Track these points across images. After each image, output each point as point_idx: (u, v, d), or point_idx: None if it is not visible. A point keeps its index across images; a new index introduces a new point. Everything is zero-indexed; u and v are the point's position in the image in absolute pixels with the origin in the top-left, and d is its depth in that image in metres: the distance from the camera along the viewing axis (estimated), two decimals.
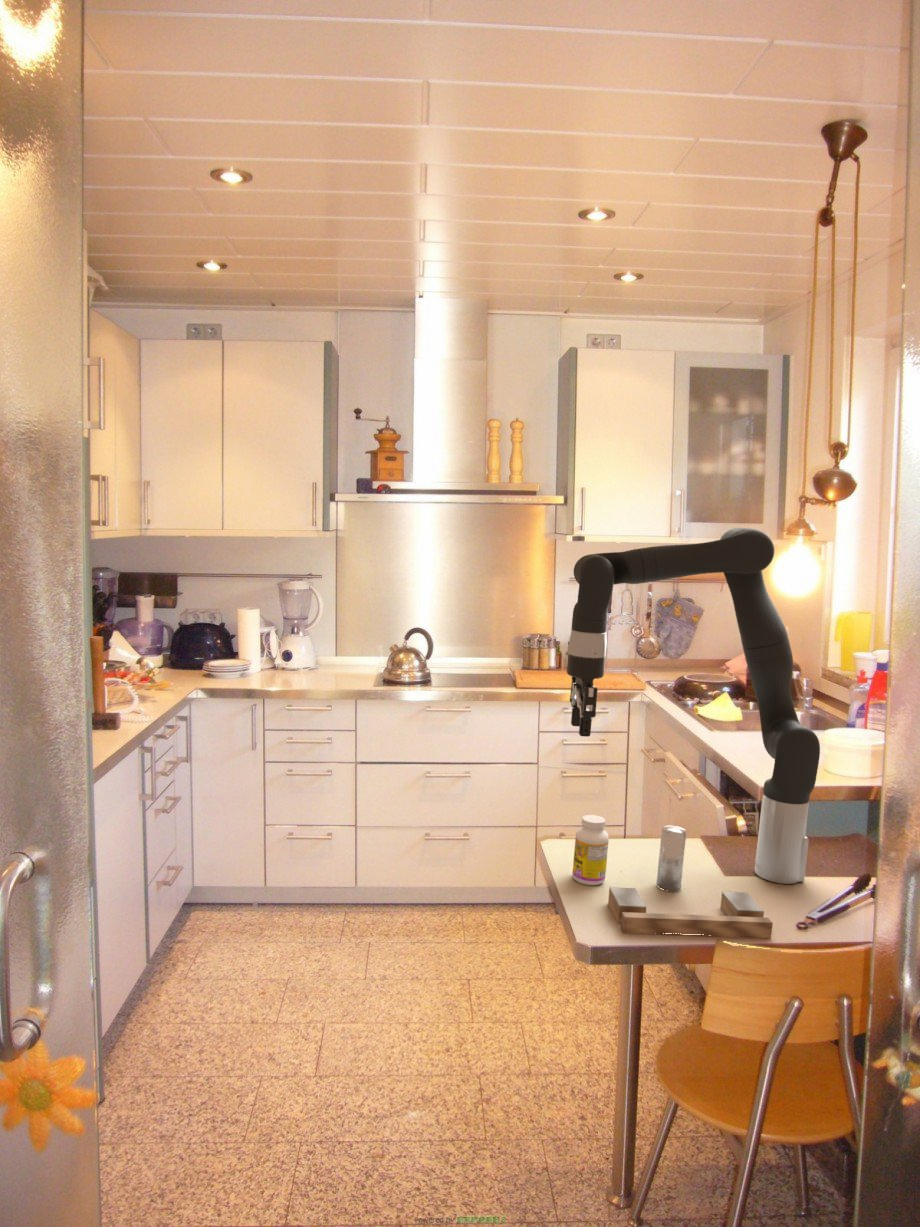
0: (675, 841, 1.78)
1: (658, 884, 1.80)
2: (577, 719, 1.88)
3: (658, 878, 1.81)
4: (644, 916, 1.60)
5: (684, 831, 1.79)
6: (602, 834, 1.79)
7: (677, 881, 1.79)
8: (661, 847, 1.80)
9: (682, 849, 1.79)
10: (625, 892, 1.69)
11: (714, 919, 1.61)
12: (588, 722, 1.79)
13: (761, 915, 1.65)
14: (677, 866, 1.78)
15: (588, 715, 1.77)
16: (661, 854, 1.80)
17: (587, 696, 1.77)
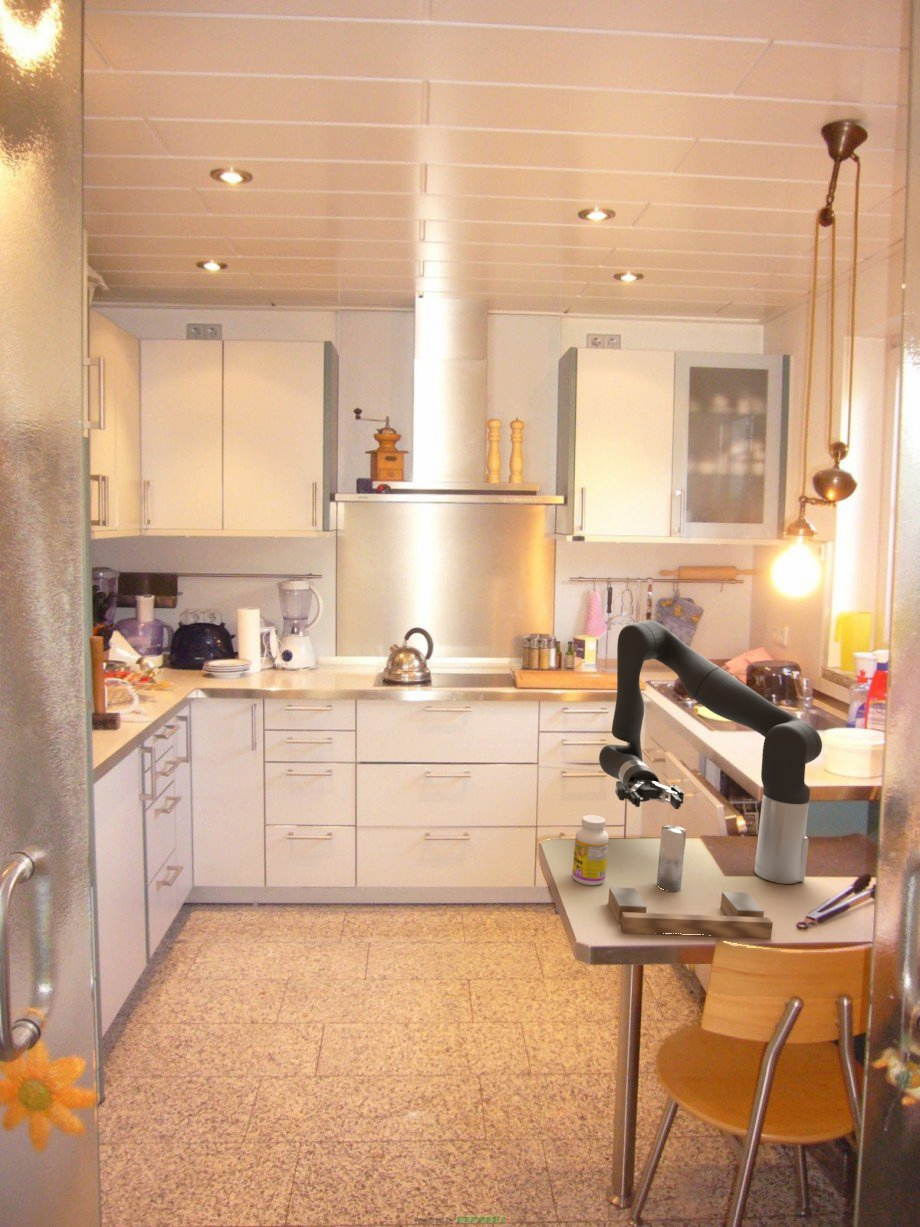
0: (675, 841, 1.78)
1: (658, 884, 1.80)
2: (674, 802, 1.93)
3: (658, 878, 1.81)
4: (644, 916, 1.60)
5: (684, 831, 1.79)
6: (602, 834, 1.79)
7: (677, 881, 1.79)
8: (661, 847, 1.80)
9: (682, 849, 1.79)
10: (625, 892, 1.69)
11: (714, 919, 1.61)
12: (630, 796, 1.93)
13: (761, 915, 1.65)
14: (677, 866, 1.78)
15: (620, 795, 1.95)
16: (661, 854, 1.80)
17: (616, 791, 1.99)
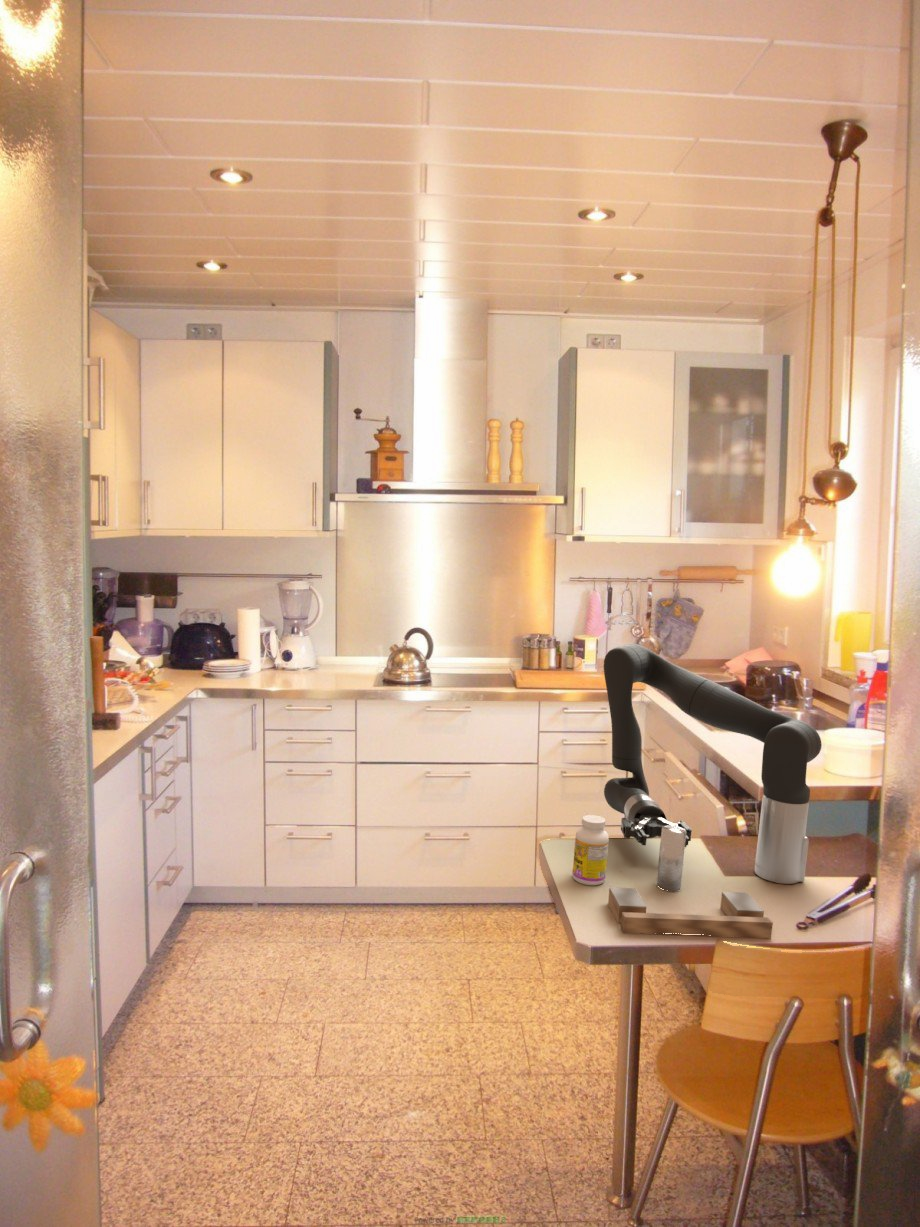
0: (675, 841, 1.78)
1: (658, 884, 1.80)
2: None
3: (658, 878, 1.81)
4: (644, 916, 1.60)
5: (684, 831, 1.79)
6: (602, 834, 1.79)
7: (677, 881, 1.79)
8: (661, 847, 1.80)
9: (682, 849, 1.79)
10: (625, 892, 1.69)
11: (714, 919, 1.61)
12: (636, 833, 1.88)
13: (761, 915, 1.65)
14: (677, 866, 1.78)
15: (625, 832, 1.90)
16: (661, 854, 1.80)
17: (621, 828, 1.93)
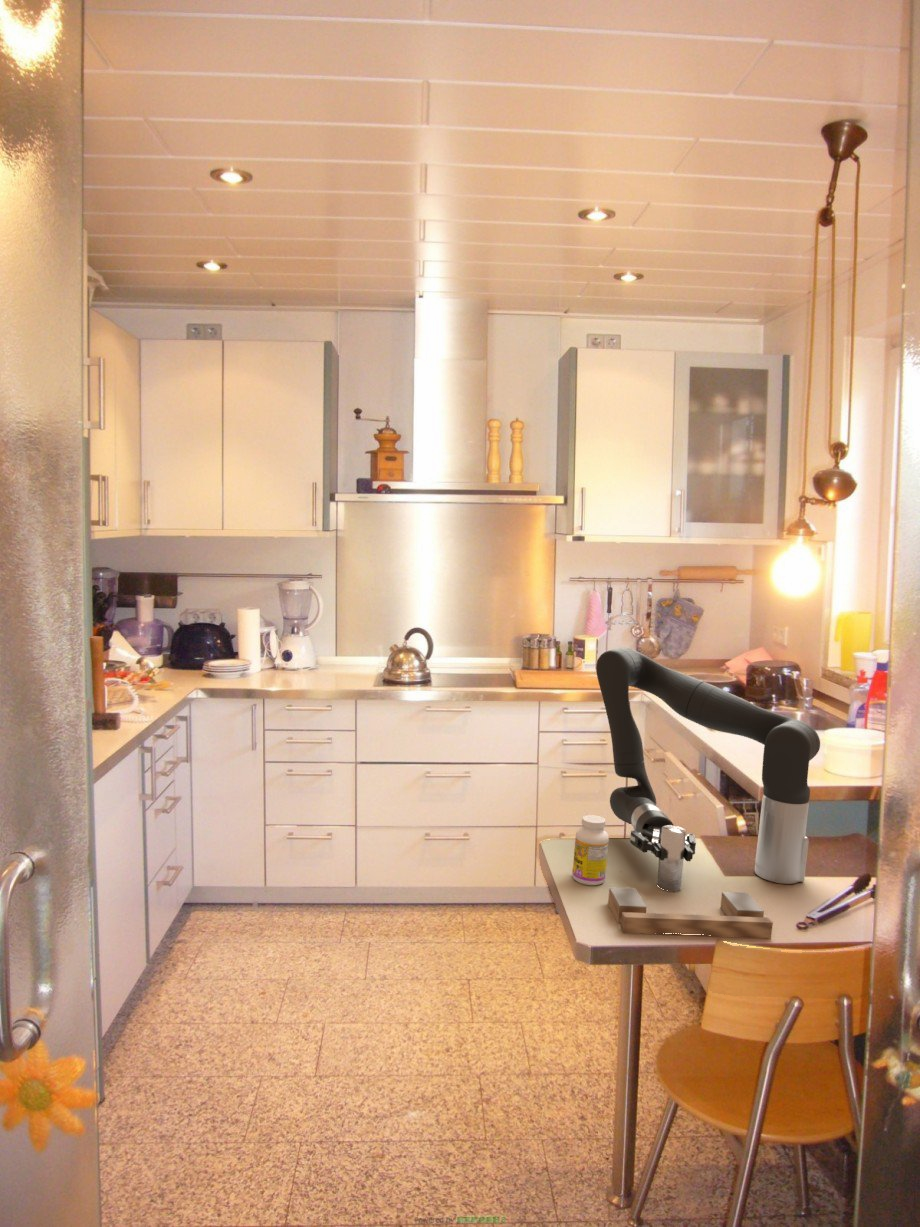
0: (675, 841, 1.78)
1: (658, 884, 1.80)
2: (685, 854, 1.79)
3: (658, 878, 1.81)
4: (644, 916, 1.60)
5: (684, 831, 1.79)
6: (602, 834, 1.79)
7: (677, 881, 1.79)
8: None
9: (682, 849, 1.78)
10: (625, 892, 1.69)
11: (714, 919, 1.61)
12: (653, 847, 1.80)
13: (761, 915, 1.65)
14: (677, 866, 1.78)
15: (642, 846, 1.82)
16: None
17: (633, 842, 1.86)
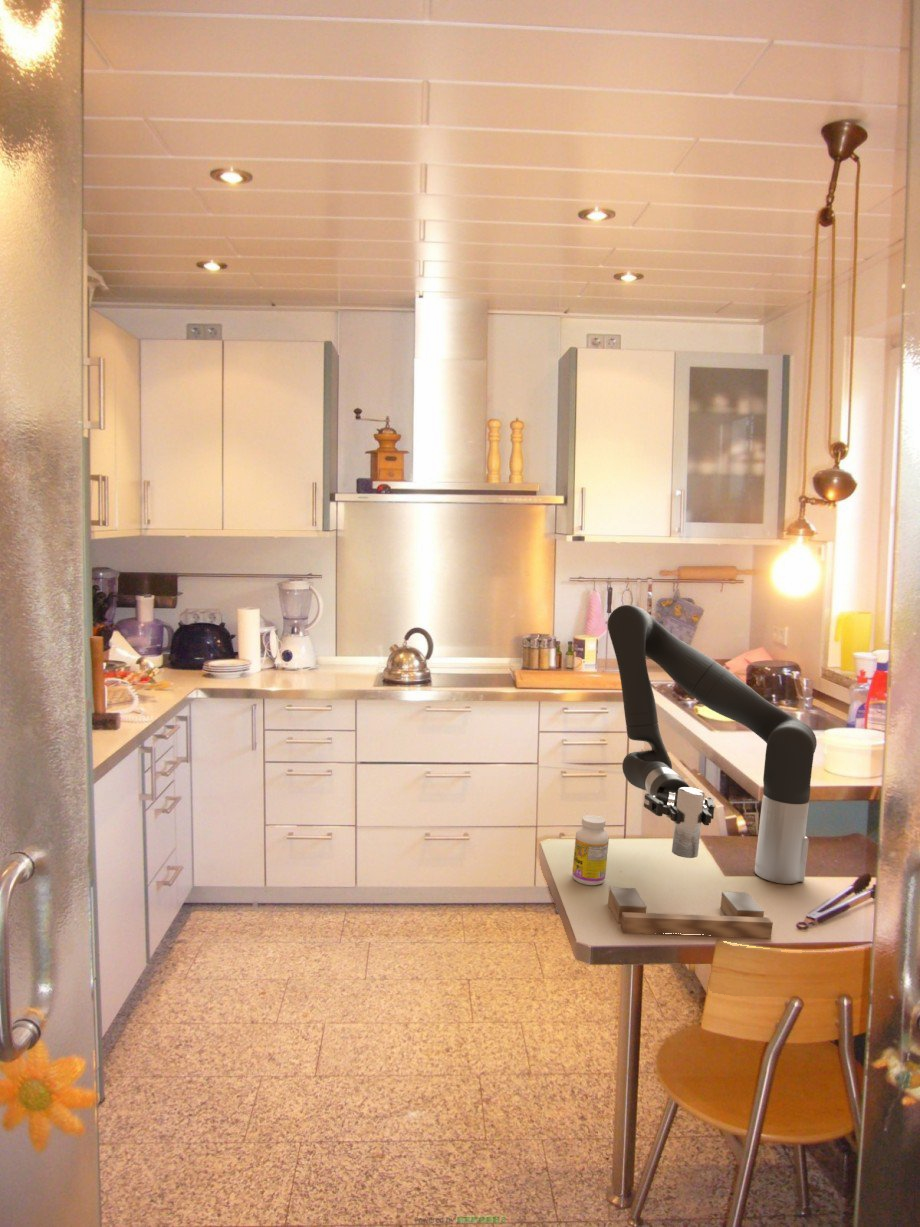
0: (693, 803, 1.65)
1: (674, 850, 1.68)
2: (703, 817, 1.67)
3: (674, 843, 1.68)
4: (644, 916, 1.60)
5: (702, 793, 1.67)
6: (602, 834, 1.79)
7: (694, 846, 1.67)
8: None
9: (700, 812, 1.66)
10: (625, 892, 1.69)
11: (714, 919, 1.61)
12: (669, 811, 1.68)
13: (761, 915, 1.65)
14: (694, 830, 1.66)
15: (657, 810, 1.70)
16: None
17: (647, 806, 1.73)
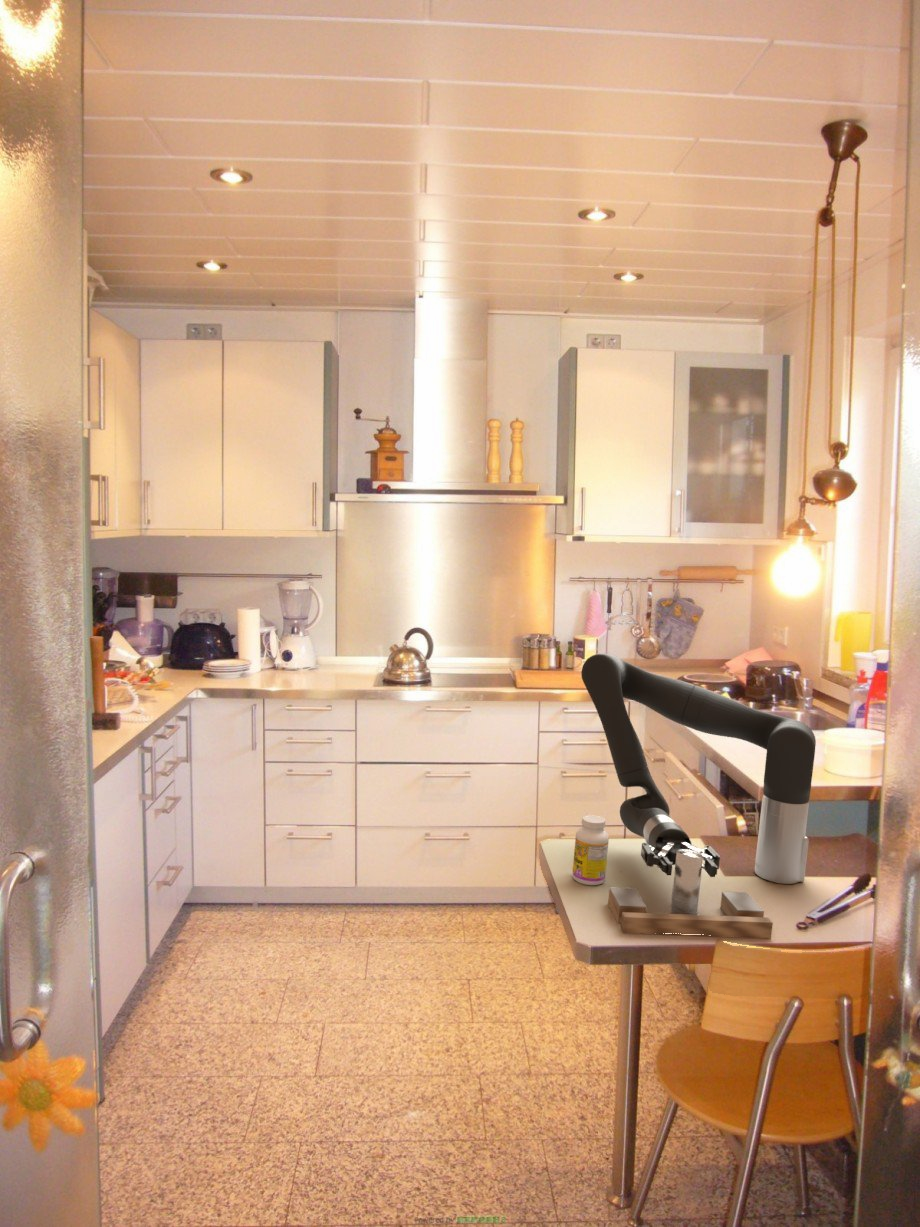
0: (691, 867, 1.65)
1: (672, 913, 1.68)
2: (709, 869, 1.67)
3: (672, 906, 1.68)
4: (644, 916, 1.60)
5: (700, 856, 1.66)
6: (602, 834, 1.79)
7: (693, 910, 1.66)
8: (676, 873, 1.67)
9: (698, 875, 1.66)
10: (625, 892, 1.69)
11: (714, 919, 1.61)
12: (660, 861, 1.68)
13: (761, 915, 1.65)
14: (693, 893, 1.66)
15: (648, 860, 1.70)
16: (676, 880, 1.67)
17: (642, 855, 1.73)
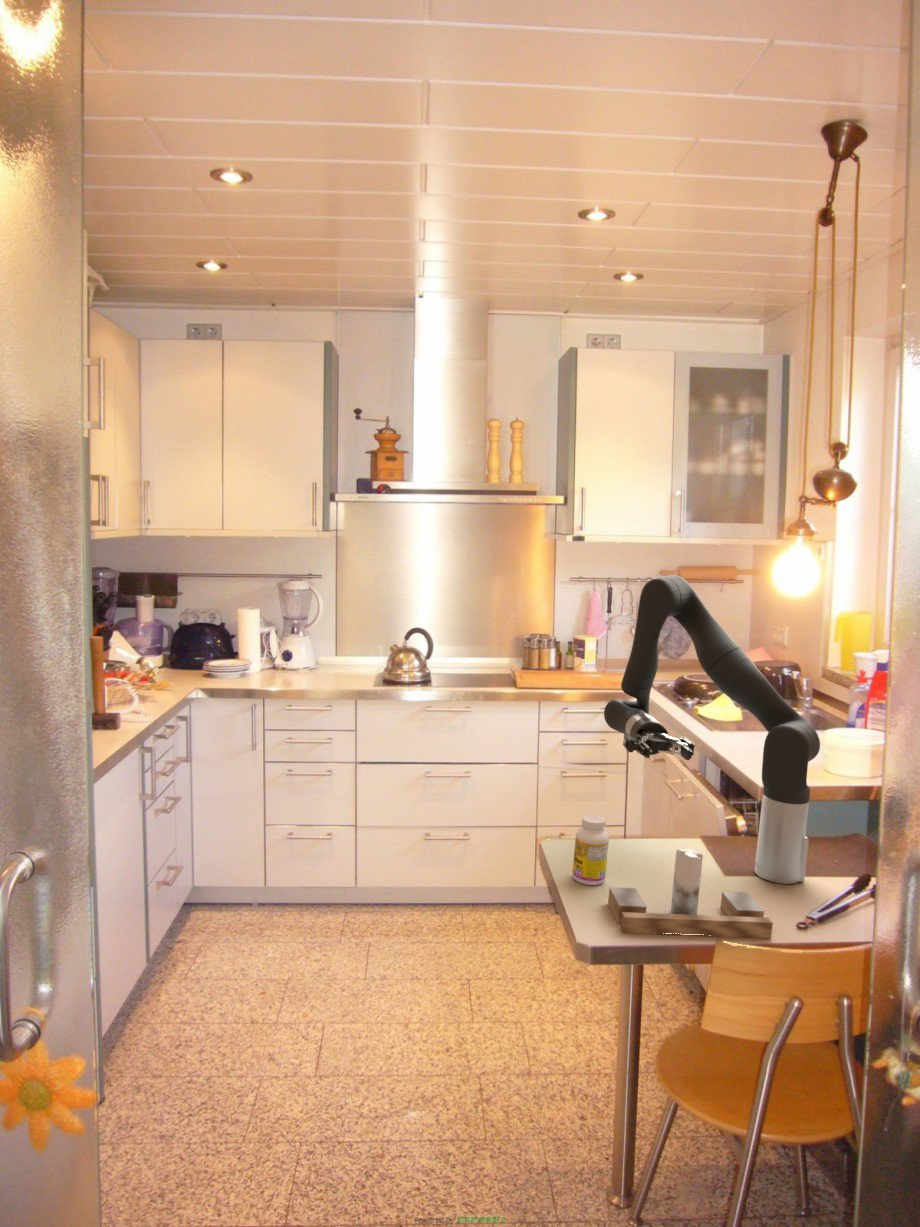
0: (691, 866, 1.65)
1: (672, 913, 1.68)
2: (685, 753, 1.86)
3: (672, 906, 1.68)
4: (644, 916, 1.60)
5: (700, 856, 1.66)
6: (602, 834, 1.79)
7: (693, 910, 1.66)
8: (675, 873, 1.67)
9: (698, 875, 1.66)
10: (625, 892, 1.69)
11: (714, 919, 1.61)
12: (639, 747, 1.87)
13: (761, 915, 1.65)
14: (692, 893, 1.66)
15: (628, 746, 1.88)
16: (675, 880, 1.67)
17: (624, 744, 1.92)
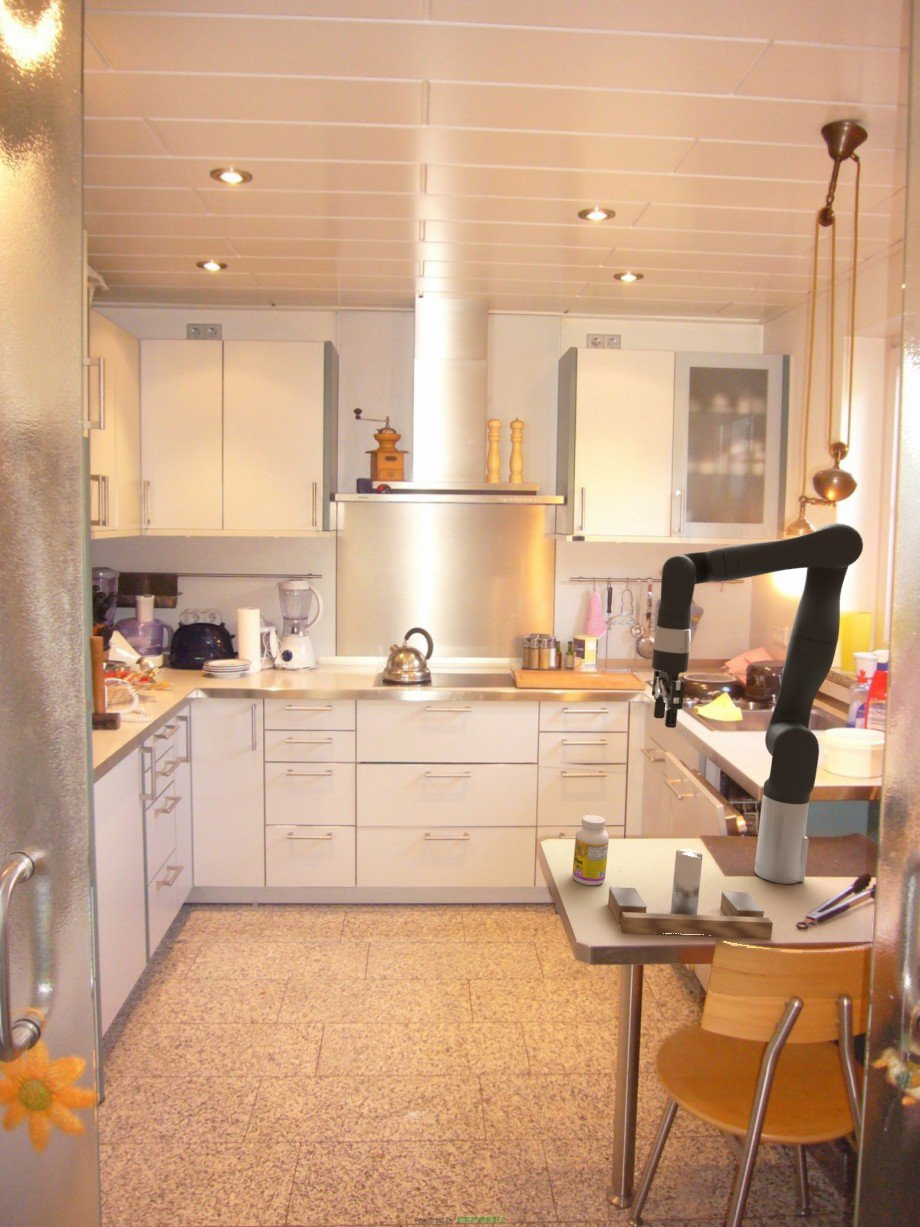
0: (691, 866, 1.65)
1: (672, 913, 1.68)
2: (659, 712, 1.98)
3: (672, 906, 1.68)
4: (644, 916, 1.60)
5: (700, 855, 1.66)
6: (602, 834, 1.79)
7: (693, 909, 1.66)
8: (675, 873, 1.67)
9: (698, 875, 1.66)
10: (625, 892, 1.69)
11: (714, 919, 1.61)
12: (674, 714, 1.88)
13: (761, 915, 1.65)
14: (692, 893, 1.66)
15: (675, 707, 1.86)
16: (675, 880, 1.67)
17: (674, 689, 1.86)
